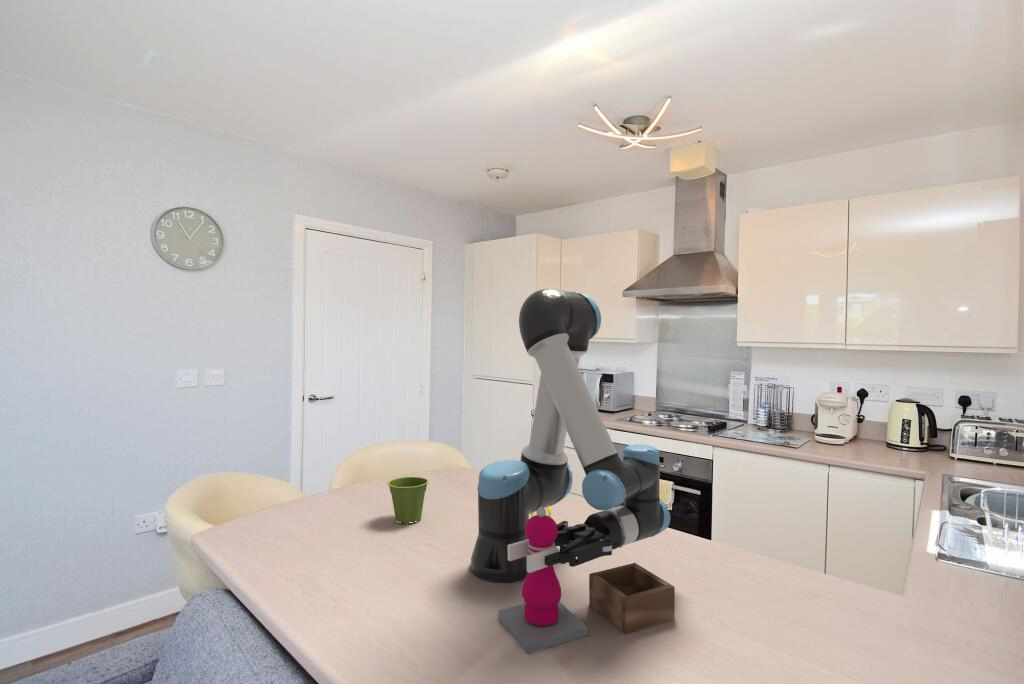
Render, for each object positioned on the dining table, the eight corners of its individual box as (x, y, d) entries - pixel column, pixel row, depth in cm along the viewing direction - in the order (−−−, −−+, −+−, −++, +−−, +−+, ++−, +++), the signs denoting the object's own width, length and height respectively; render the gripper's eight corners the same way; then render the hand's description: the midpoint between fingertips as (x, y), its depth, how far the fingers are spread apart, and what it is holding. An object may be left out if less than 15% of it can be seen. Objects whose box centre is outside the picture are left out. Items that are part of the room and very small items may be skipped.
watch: (551, 522, 147) (553, 502, 146) (548, 525, 144) (549, 504, 144) (532, 517, 149) (533, 497, 149) (528, 521, 147) (530, 500, 146)
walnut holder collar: (589, 604, 101) (589, 573, 101) (634, 591, 106) (634, 562, 106) (626, 634, 90) (625, 600, 90) (674, 618, 95) (674, 586, 95)
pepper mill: (534, 632, 88) (533, 516, 88) (514, 612, 94) (514, 504, 94) (569, 621, 91) (568, 510, 91) (548, 602, 98) (547, 499, 98)
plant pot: (437, 517, 150) (437, 479, 150) (409, 530, 140) (408, 489, 140) (407, 510, 156) (407, 474, 156) (378, 522, 146) (378, 483, 146)
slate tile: (498, 618, 96) (498, 610, 96) (553, 603, 101) (553, 596, 101) (527, 653, 85) (527, 644, 85) (587, 635, 90) (587, 626, 90)
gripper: (645, 563, 96) (551, 601, 82) (579, 534, 111) (490, 561, 97) (645, 523, 96) (551, 554, 82) (579, 499, 111) (489, 522, 97)
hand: (518, 558), depth 90 cm, fingers closed on pepper mill, 5 cm apart
